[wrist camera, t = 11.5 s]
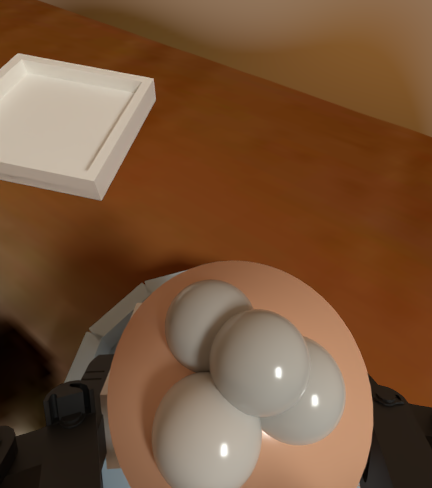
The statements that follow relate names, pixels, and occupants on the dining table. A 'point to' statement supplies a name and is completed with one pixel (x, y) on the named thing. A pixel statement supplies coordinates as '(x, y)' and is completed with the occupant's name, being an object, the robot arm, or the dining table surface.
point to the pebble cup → (239, 385)
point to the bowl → (112, 350)
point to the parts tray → (68, 123)
